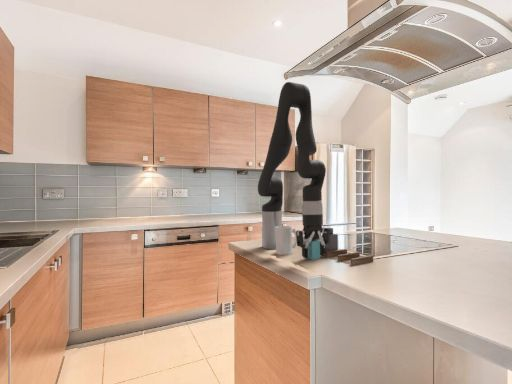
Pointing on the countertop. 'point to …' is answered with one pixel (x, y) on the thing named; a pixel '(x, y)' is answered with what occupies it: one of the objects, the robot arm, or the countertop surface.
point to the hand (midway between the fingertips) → (313, 256)
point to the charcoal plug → (332, 242)
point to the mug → (284, 240)
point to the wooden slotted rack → (348, 257)
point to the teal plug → (314, 250)
